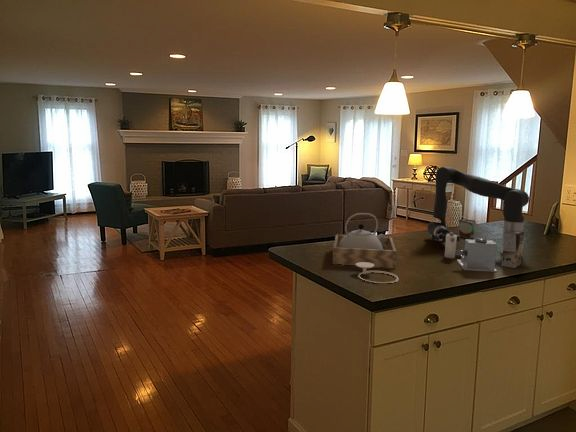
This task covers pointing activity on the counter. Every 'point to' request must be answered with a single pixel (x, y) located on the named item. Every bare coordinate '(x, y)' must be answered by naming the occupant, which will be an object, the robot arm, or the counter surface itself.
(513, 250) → the coffee box
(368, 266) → the hand towel holder
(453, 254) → the white bottle
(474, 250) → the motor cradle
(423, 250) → the counter surface
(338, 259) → the kettle caddy
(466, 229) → the food container
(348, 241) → the kettle
